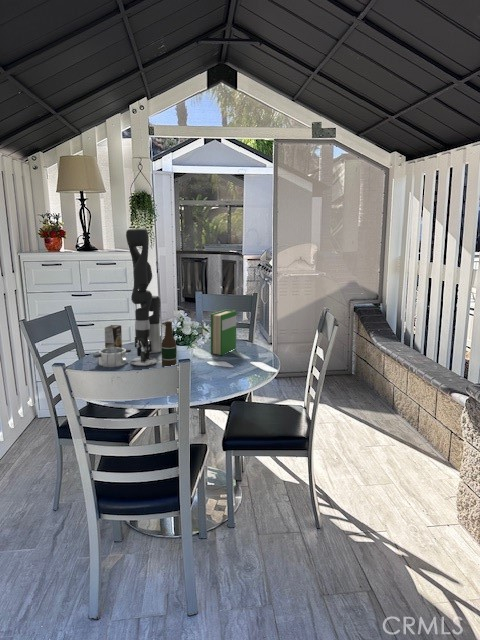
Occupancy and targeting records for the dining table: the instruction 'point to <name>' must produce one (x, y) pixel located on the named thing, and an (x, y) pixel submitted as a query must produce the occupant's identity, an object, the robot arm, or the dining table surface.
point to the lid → (143, 360)
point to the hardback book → (223, 331)
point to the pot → (112, 356)
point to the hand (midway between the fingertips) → (143, 357)
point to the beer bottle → (169, 347)
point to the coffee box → (113, 336)
